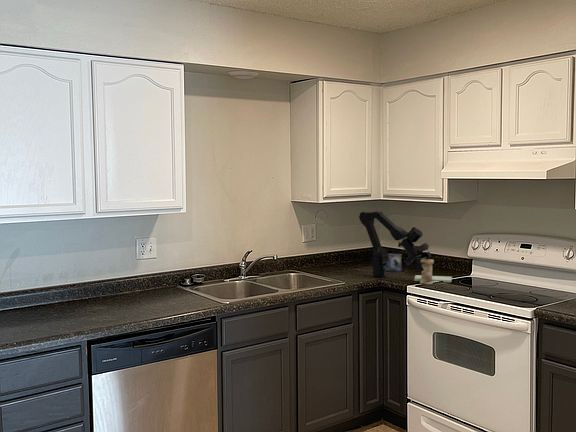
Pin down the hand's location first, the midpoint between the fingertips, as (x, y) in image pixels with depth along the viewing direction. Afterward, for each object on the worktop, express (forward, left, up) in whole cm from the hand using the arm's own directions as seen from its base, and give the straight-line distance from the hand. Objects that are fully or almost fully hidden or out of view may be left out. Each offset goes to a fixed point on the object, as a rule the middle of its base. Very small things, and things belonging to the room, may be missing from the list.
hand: (427, 269), depth 326 cm
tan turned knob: (0, 0, -7) cm, 8 cm away
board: (+3, +12, -7) cm, 15 cm away
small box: (-22, +37, -8) cm, 44 cm away
